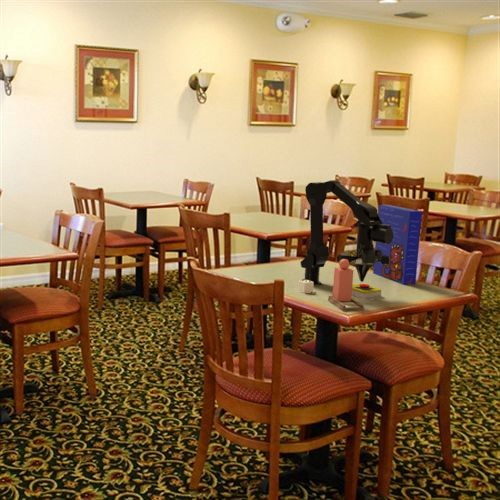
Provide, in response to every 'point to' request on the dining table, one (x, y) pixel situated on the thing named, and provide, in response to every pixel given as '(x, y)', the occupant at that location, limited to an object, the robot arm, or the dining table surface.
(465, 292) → the dining table surface
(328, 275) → the dining table surface
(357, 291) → the emergency button
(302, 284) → the die
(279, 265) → the dining table surface
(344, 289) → the pawn
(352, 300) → the track
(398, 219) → the cereal box
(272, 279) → the dining table surface
